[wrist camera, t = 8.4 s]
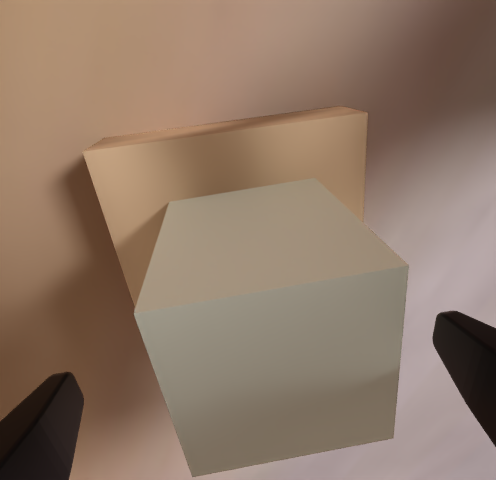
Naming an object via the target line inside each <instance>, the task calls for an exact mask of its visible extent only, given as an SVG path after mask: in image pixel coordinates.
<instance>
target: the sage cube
mask: <svg viewBox="0 0 496 480" xmlns="http://www.w3.org/2000/svg"><path fill="white" fill-rule="evenodd" d="M408 269H409V265H408V264H407V263H406V262H405V261H404V260H403V259H401V258H400V257H399V256H398V255H397V254H396V253H395V252H394V251H393V250H392V249H391V248H390V247H389V246H388V245H386V244H385V243H384V242H383V241H382V240H381V239H380V238H379V237H378V236H377V235H376V234H375V233H374V232H373V231H371V230H370V229H369V228H368V227H367V226H366V225H365V224H364V223H363V222H362V221H361V220H360V219H359V218H358V217H356V216H355V215H354V214H353V213H352V212H351V211H350V210H349V209H348V208H347V207H346V206H345V205H344V204H342V203H341V202H340V201H339V200H338V199H337V198H336V197H335V196H334V195H333V194H332V193H331V192H330V191H329V190H327V189H326V188H325V187H324V186H323V185H322V184H321V183H320V182H319V181H318V180H317V179H316V178H311V179H305V180H299V181H292V182H286V183H280V184H274V185H268V186H262V187H256V188H250V189H244V190H238V191H232V192H226V193H220V194H214V195H208V196H202V197H196V198H190V199H184V200H178V201H172V202H169V205H168V208H167V211H166V214H165V217H164V220H163V223H162V226H161V229H160V233H159V236H158V239H157V242H156V245H155V248H154V251H153V254H152V258H151V261H150V264H149V267H148V270H147V273H146V276H145V279H144V282H143V286H142V289H141V292H140V295H139V298H138V301H137V304H136V307H135V310H134V316H135V319H136V322H137V325H138V328H139V330H140V333H141V336H142V339H143V341H144V344H145V347H146V350H147V352H148V355H149V358H150V361H151V364H152V366H153V369H154V372H155V375H156V377H157V380H158V383H159V386H160V388H161V391H162V394H163V397H164V399H165V402H166V405H167V408H168V411H169V413H170V416H171V419H172V422H173V424H174V427H175V430H176V433H177V435H178V438H179V441H180V444H181V446H182V449H183V452H184V455H185V458H186V460H187V463H188V466H189V469H190V471H191V474H192V477H196V476H201V475H206V474H211V473H217V472H222V471H227V470H232V469H237V468H242V467H248V466H253V465H258V464H263V463H268V462H273V461H279V460H284V459H289V458H294V457H299V456H304V455H310V454H315V453H320V452H325V451H330V450H335V449H341V448H346V447H351V446H356V445H361V444H367V443H372V442H377V441H382V440H387V439H392V438H393V437H394V426H395V414H396V403H397V392H398V381H399V370H400V358H401V347H402V336H403V325H404V314H405V302H406V291H407V280H408Z"/></svg>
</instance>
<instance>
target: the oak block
mask: <svg viewBox="0 0 496 480" xmlns="http://www.w3.org/2000/svg"><path fill="white" fill-rule="evenodd" d="M367 123H368V112H364V111H360V110H356V109H351V108H347V107H343V106H336V107H329V108H322V109H314V110H307V111H300V112H292V113H285V114H277V115H270V116H263V117H255V118H248V119H241V120H233V121H226V122H219V123H211V124H204V125H197V126H189V127H182V128H174V129H167V130H160V131H152V132H145V133H138V134H130V135H123V136H116V137H108V138H104V139H102V140H100V141H99V142H97V143H96V144H94V145H92V146H91V147H89V148H88V149H86V150H84V151H83V155H84V158H85V161H86V164H87V167H88V170H89V173H90V176H91V179H92V182H93V185H94V188H95V191H96V194H97V197H98V200H99V202H100V205H101V208H102V211H103V214H104V217H105V220H106V223H107V226H108V229H109V232H110V235H111V238H112V241H113V244H114V247H115V250H116V253H117V256H118V259H119V262H120V265H121V268H122V271H123V274H124V277H125V280H126V283H127V286H128V289H129V292H130V295H131V298H132V301H133V304H134V307H136V304H137V301H138V298H139V295H140V292H141V289H142V286H143V282H144V279H145V276H146V273H147V270H148V267H149V264H150V261H151V258H152V254H153V251H154V248H155V245H156V242H157V239H158V236H159V233H160V229H161V226H162V223H163V220H164V217H165V214H166V211H167V208H168V205H169V202H172V201H178V200H184V199H190V198H196V197H202V196H208V195H214V194H220V193H226V192H232V191H238V190H244V189H250V188H256V187H262V186H268V185H274V184H280V183H286V182H292V181H299V180H305V179H311V178H316V179H317V180H318V181H319V182H320V183H321V184H322V185H323V186H324V187H325V188H326V189H327V190H329V191H330V192H331V193H332V194H333V195H334V196H335V197H336V198H337V199H338V200H339V201H340V202H341V203H342V204H344V205H345V206H346V207H347V208H348V209H349V210H350V211H351V212H352V213H353V214H354V215H355V216H356V217H358V218H359V219H360V220H361V221H362V222H363V214H364V191H365V168H366V146H367Z"/></svg>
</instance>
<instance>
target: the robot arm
mask: <svg viewBox="0 0 496 480" xmlns="http://www.w3.org/2000/svg"><path fill="white" fill-rule="evenodd" d="M433 344H434V347H435V349H436V351H437V352H438V354H439V356H440V358H441V360H442V361H443V363H444V365H445V367H446V369H447V370H448V372H449V374H450V376H451V378H452V379H453V381H454V383H455V385H456V387H457V388H458V390H459V392H460V394H461V395H462V397H463V399H464V401H465V402H466V404H467V405H468V407H469V408H470V410H471V412H472V413H473V415H474V416H475V417H476V419H477V420H478V422H479V423H480V425H481V426H482V428H483V429H484V431H485V432H486V433H487V435H488V436H489V438H490V439H491V441H492V442H493V444H494V445H495V447H496V328H494V327H492V326H490V325H487V324H485V323H483V322H481V321H478V320H476V319H474V318H471V317H469V316H467V315H465V314H462V313H460V312H458V311H447V312H441V313H439V314H438V315H437V317H436V321H435V327H434V332H433ZM83 405H84V398H83V394H82V392H81V390H80V388H79V386H78V383H77V381H76V379H75V377H74V375H73V374H72V373H70V372H64V373H58V374H53V375H51V376H50V377H49V378H47V379H46V380H45V381H44V382H43V383H42V384H41V385H40V386H39V387H38V388H36V389H35V390H34V391H33V392H32V393H31V394H30V395H29V396H28V397H27V398H25V399H24V400H23V401H22V402H21V403H20V404H19V405H18V406H17V407H16V408H14V409H13V410H12V411H11V412H10V413H9V414H8V415H7V416H6V417H5V418H3V419H2V420H1V421H0V480H69V477H70V473H71V468H72V463H73V458H74V453H75V448H76V442H77V437H78V432H79V426H80V421H81V416H82V410H83Z"/></svg>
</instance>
